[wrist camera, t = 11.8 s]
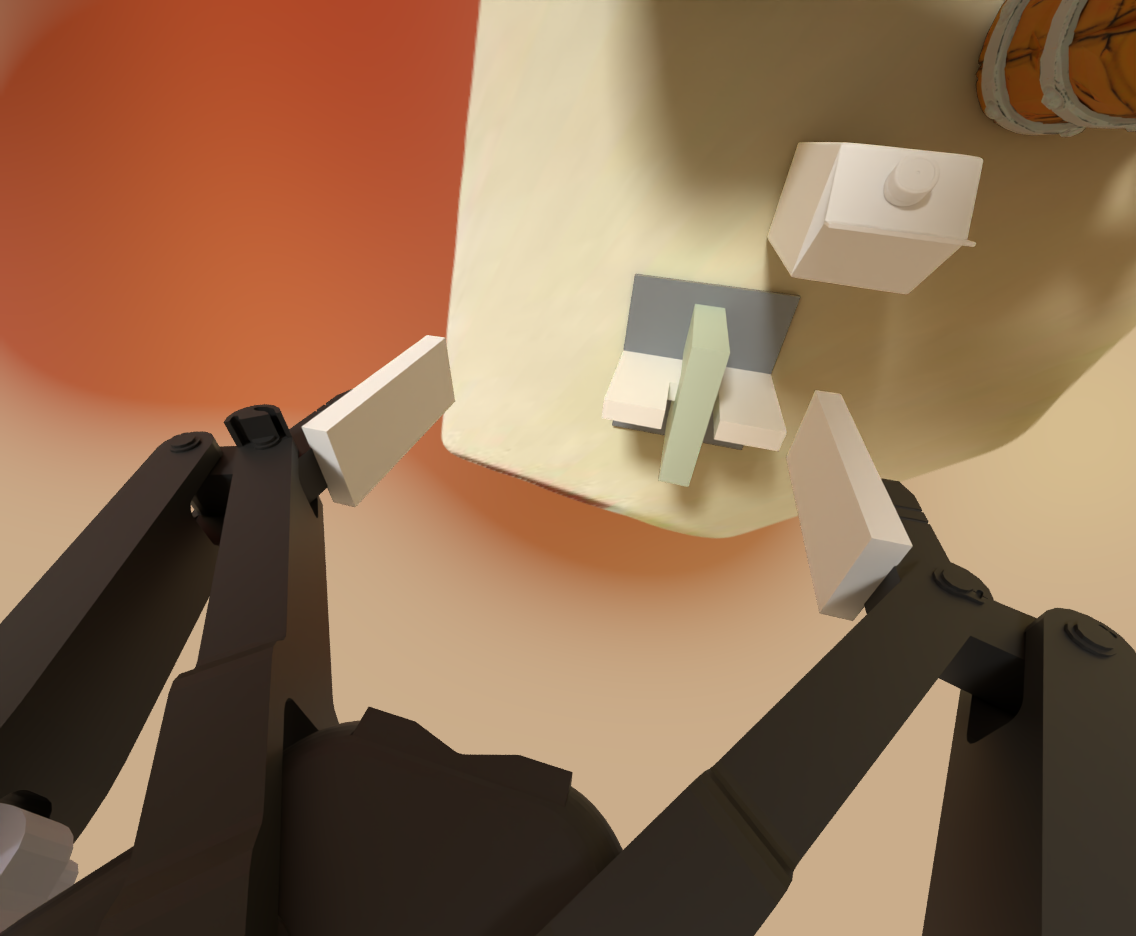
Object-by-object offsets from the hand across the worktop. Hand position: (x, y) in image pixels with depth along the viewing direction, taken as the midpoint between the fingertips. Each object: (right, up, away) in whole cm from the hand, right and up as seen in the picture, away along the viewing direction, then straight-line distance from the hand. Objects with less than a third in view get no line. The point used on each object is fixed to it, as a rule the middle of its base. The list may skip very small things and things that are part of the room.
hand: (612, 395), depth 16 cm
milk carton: (+20, +21, +22) cm, 36 cm away
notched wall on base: (+12, +9, +33) cm, 36 cm away
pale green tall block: (+12, +8, +32) cm, 36 cm away
